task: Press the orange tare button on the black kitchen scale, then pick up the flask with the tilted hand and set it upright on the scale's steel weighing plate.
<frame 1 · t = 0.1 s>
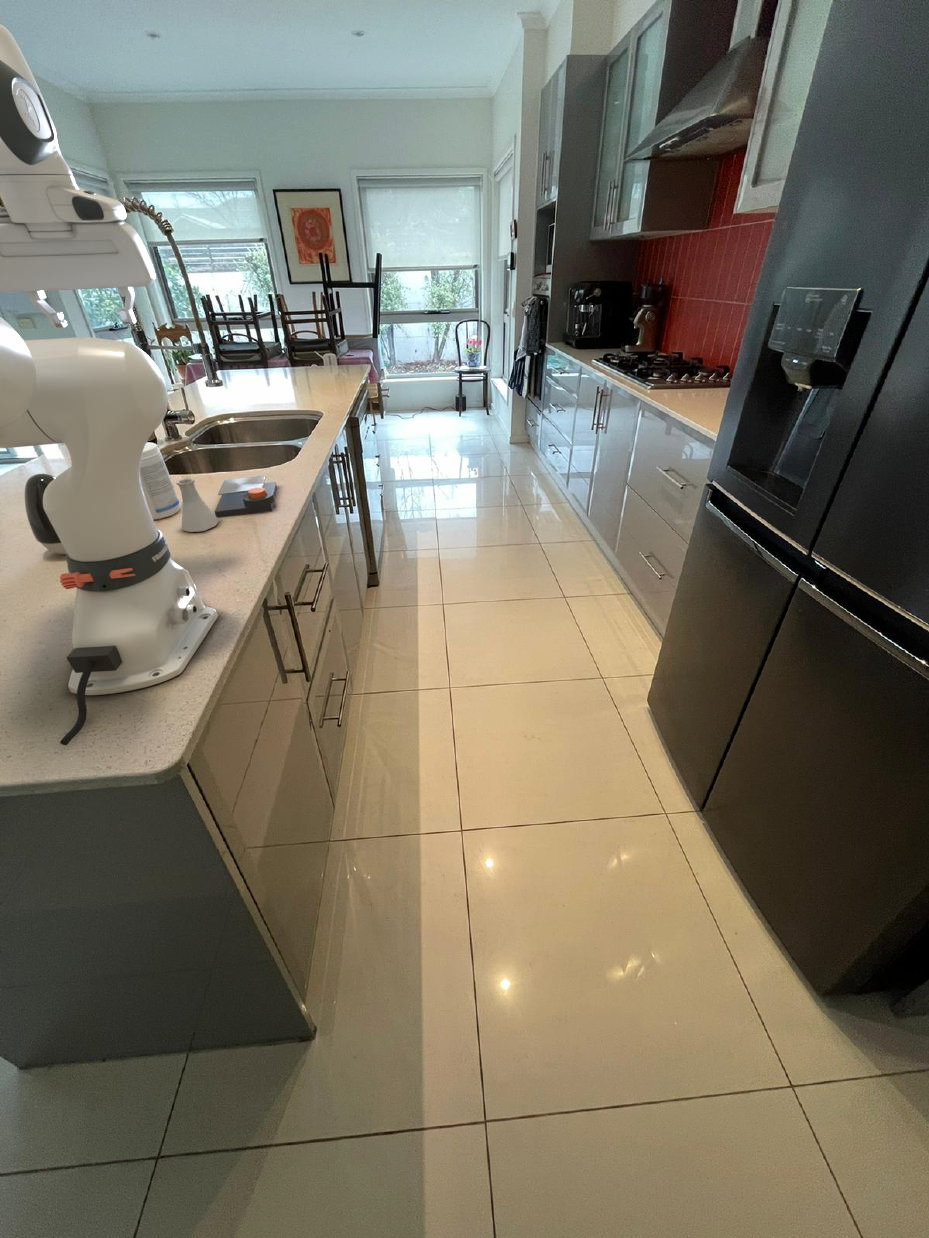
hand: (95, 325, 76), 39 cm above the worktop, tool pointing down, fingers open, 8 cm apart
weighing plate: (242, 486, 122), resting on scale
scale: (248, 501, 122), on the worktop
supplement tub: (159, 513, 118), on the worktop
tare button: (257, 493, 116), point 3 cm above the worktop, slide at 0.1 cm
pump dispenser: (76, 549, 104), on the worktop
flask: (201, 527, 111), on the worktop
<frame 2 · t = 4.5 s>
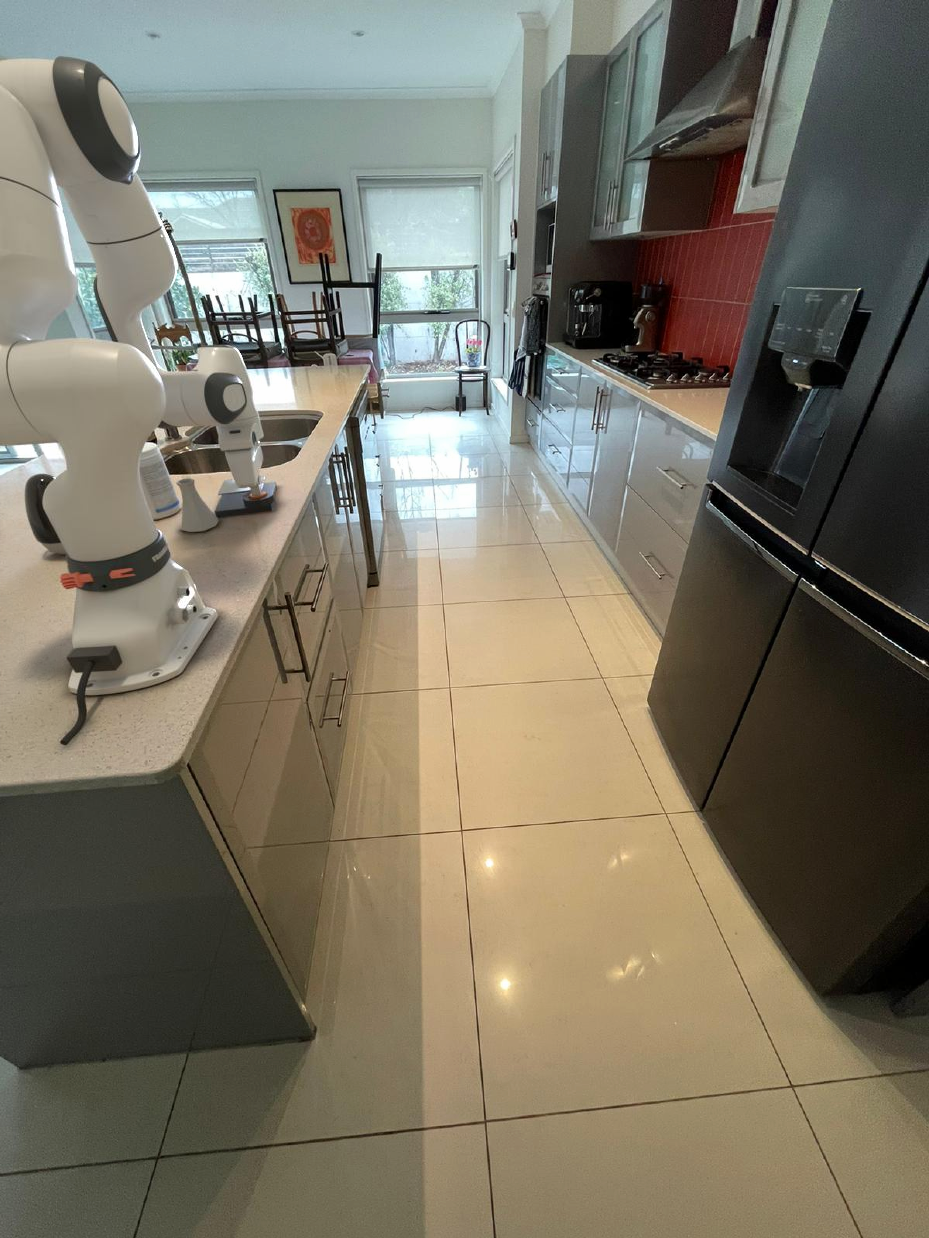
hand: (257, 493, 116), 3 cm above the worktop, tool pointing down, fingers closed, pressing on tare button
tare button: (258, 497, 117), point 3 cm above the worktop, slide at -0.7 cm, touching gripper
everything else where it was.
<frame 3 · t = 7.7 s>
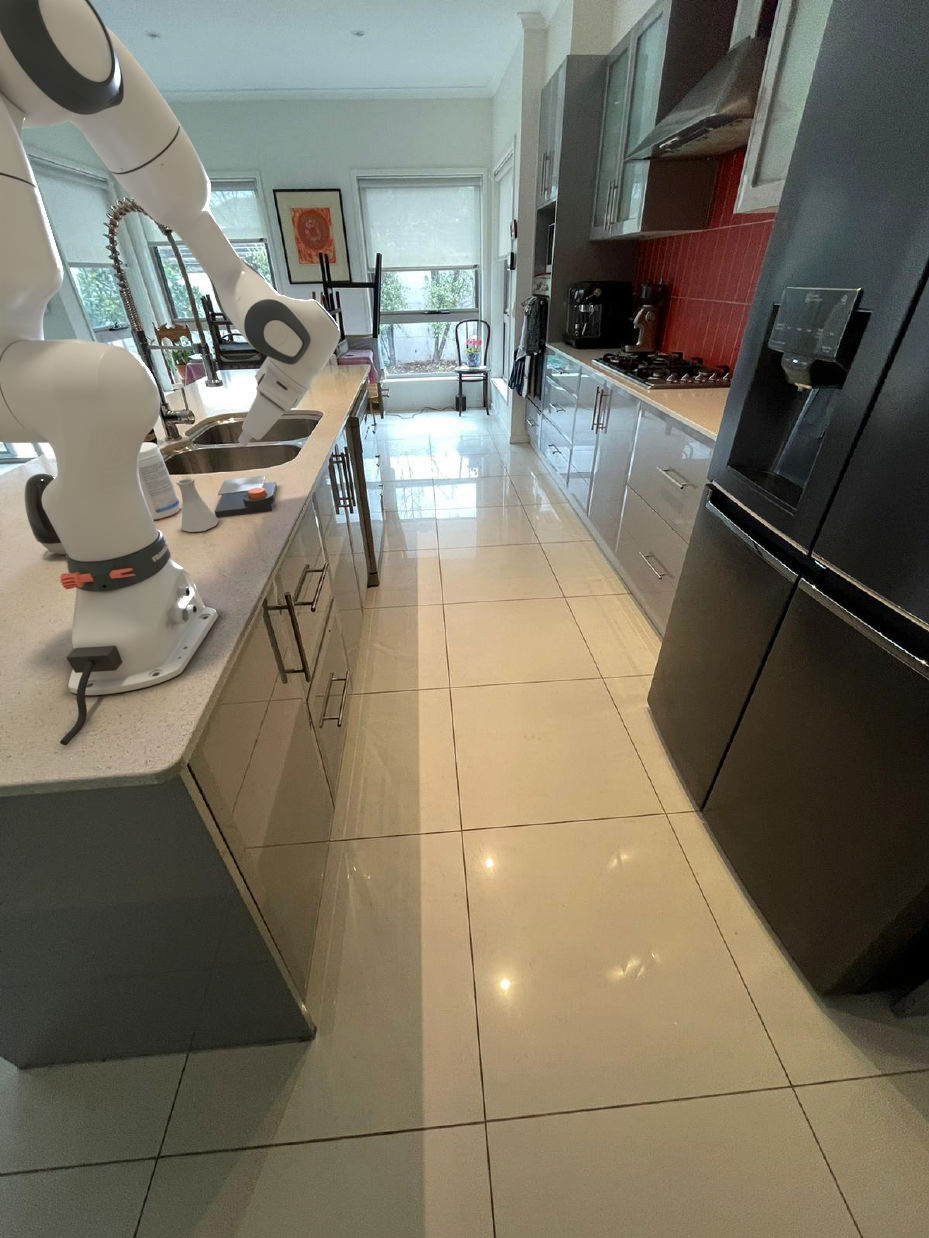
hand: (242, 442, 103), 17 cm above the worktop, tool tilted 45°, fingers closed
tare button: (257, 493, 116), point 3 cm above the worktop, slide at 0.1 cm
everything else where it was.
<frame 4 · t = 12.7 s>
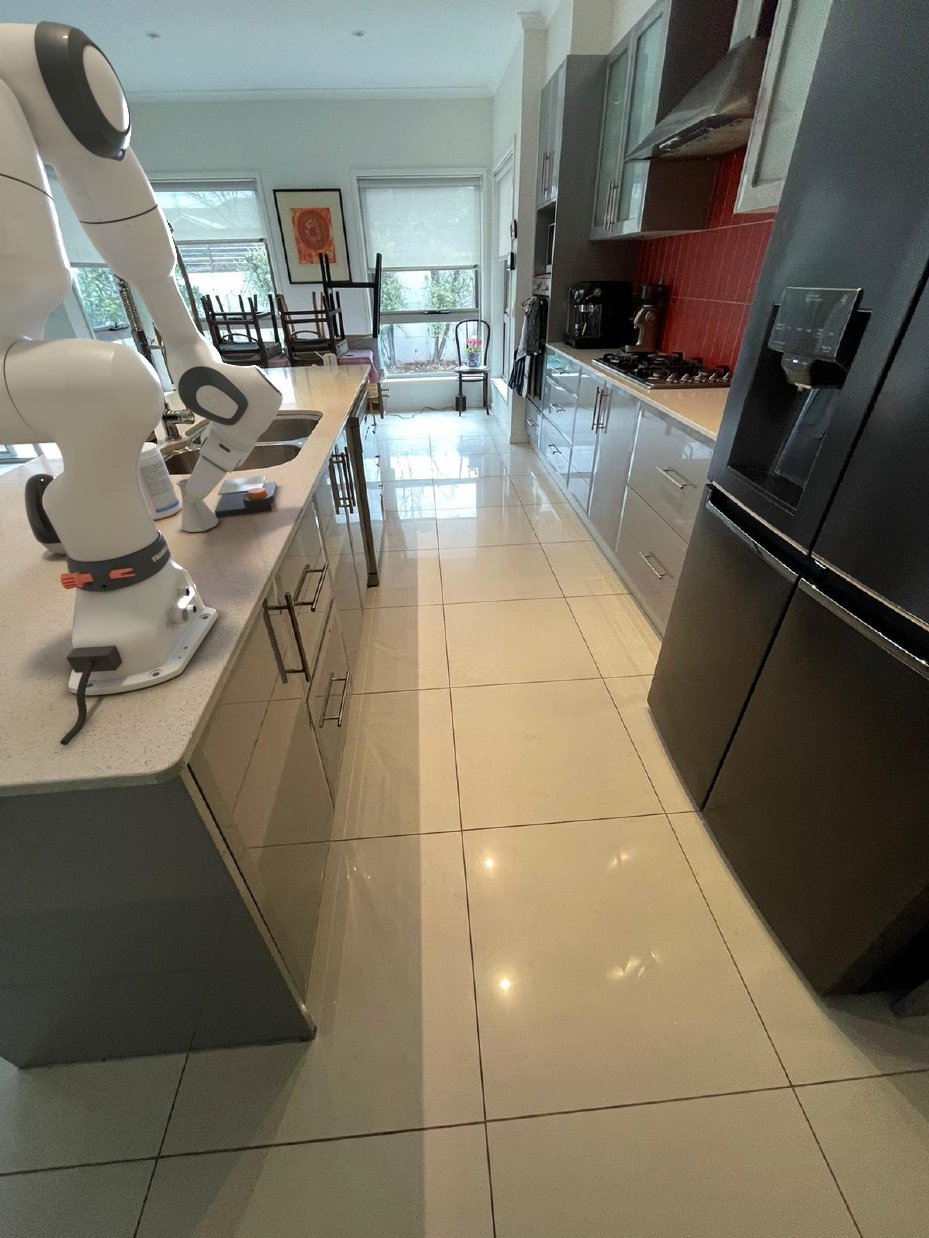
hand: (190, 497, 107), 7 cm above the worktop, tool tilted 45°, fingers closed on flask, 3 cm apart
flask: (201, 527, 111), on the worktop, touching gripper
everything else where it was.
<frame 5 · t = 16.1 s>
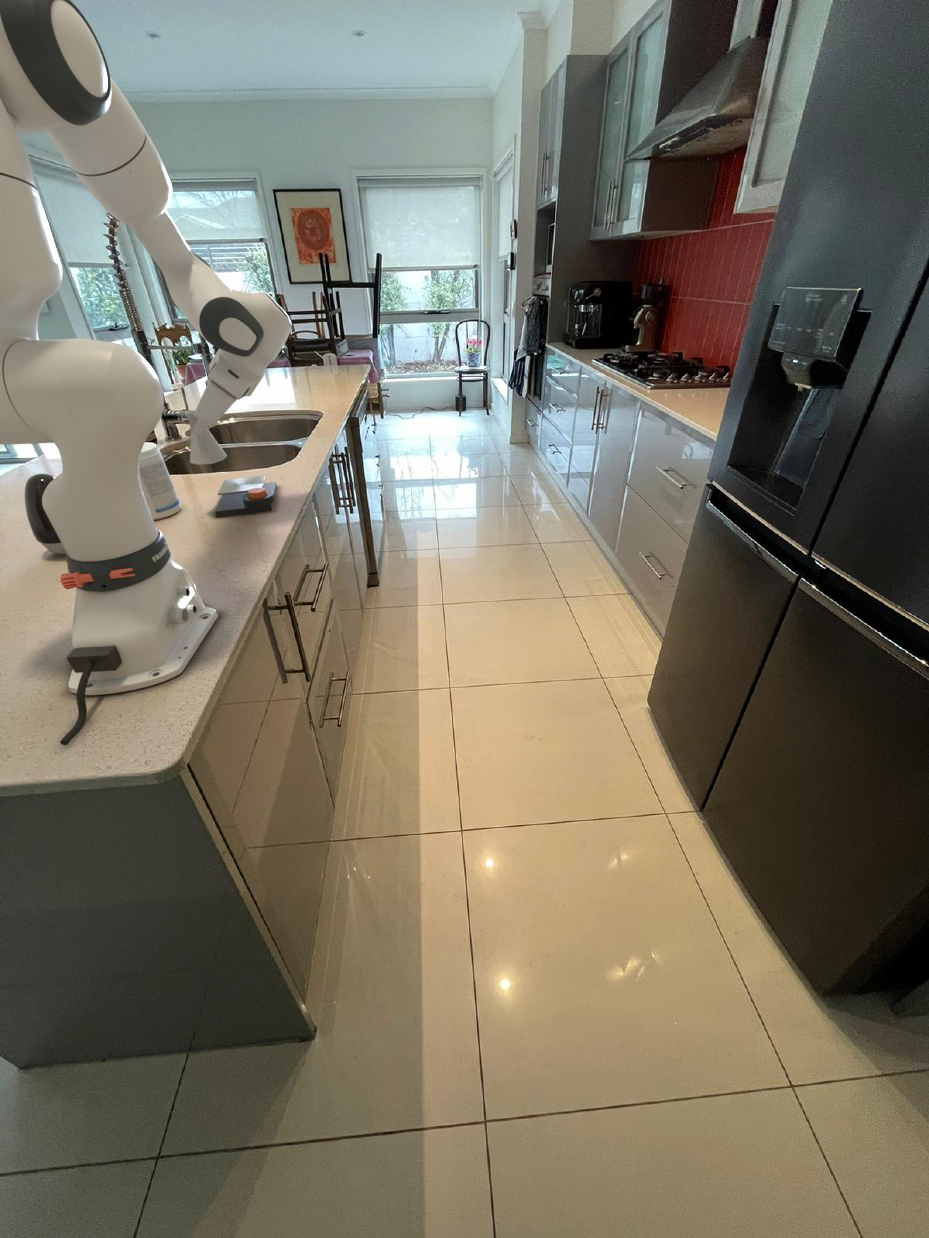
hand: (198, 429, 107), 18 cm above the worktop, tool tilted 45°, fingers closed on flask, 3 cm apart
flask: (209, 461, 111), point 11 cm above the worktop, touching gripper
everything else where it was.
when the fingers open (10 cm above the worktop, at t = 19.9 s): flask stays where it is, resting on weighing plate.
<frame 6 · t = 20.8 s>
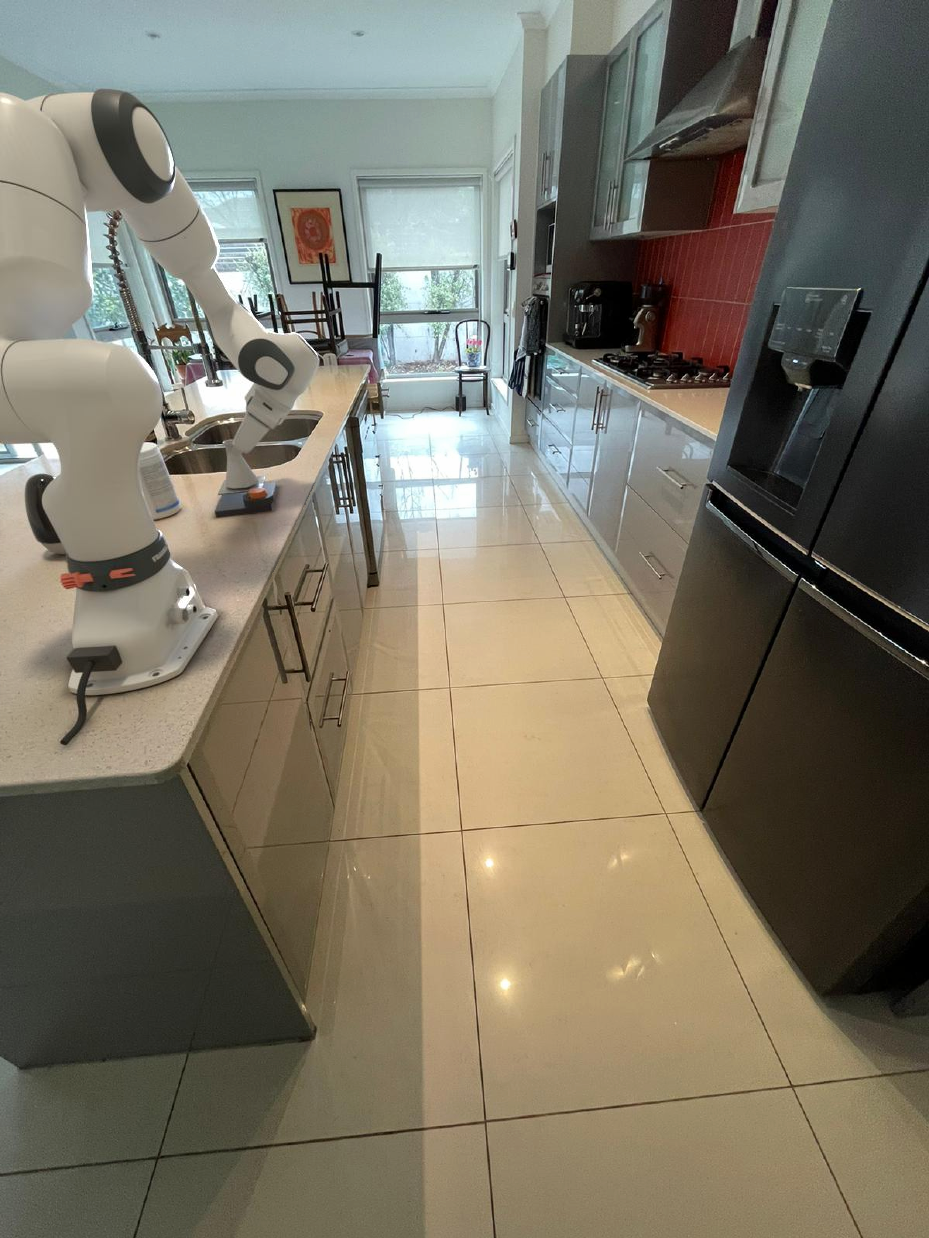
hand: (233, 454, 118), 11 cm above the worktop, tool tilted 45°, fingers open, 8 cm apart
flask: (242, 485, 122), point 3 cm above the worktop, touching weighing plate
everything else where it was.
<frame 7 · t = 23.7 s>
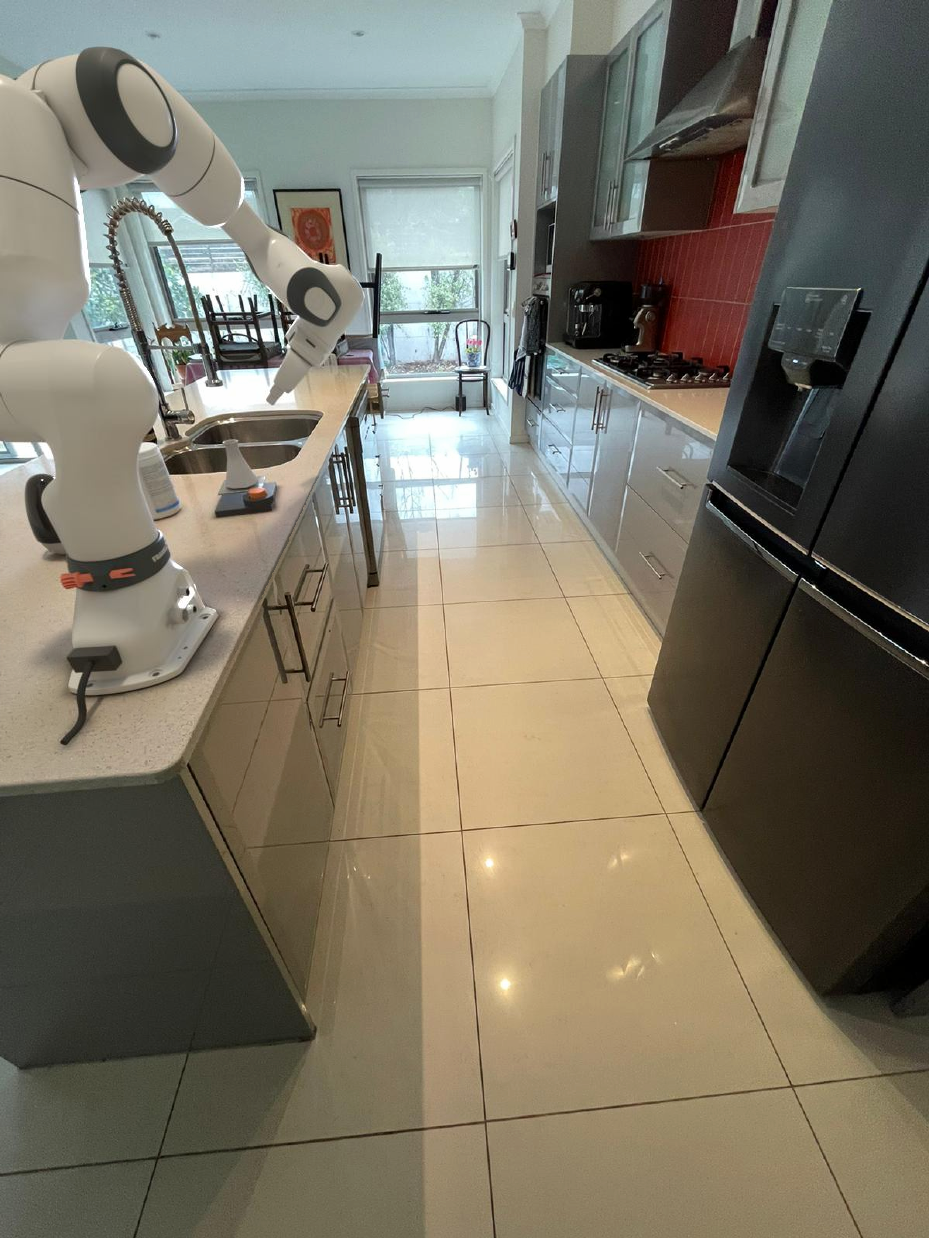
hand: (271, 398, 112), 22 cm above the worktop, tool tilted 45°, fingers open, 8 cm apart
nothing on the worktop moved.
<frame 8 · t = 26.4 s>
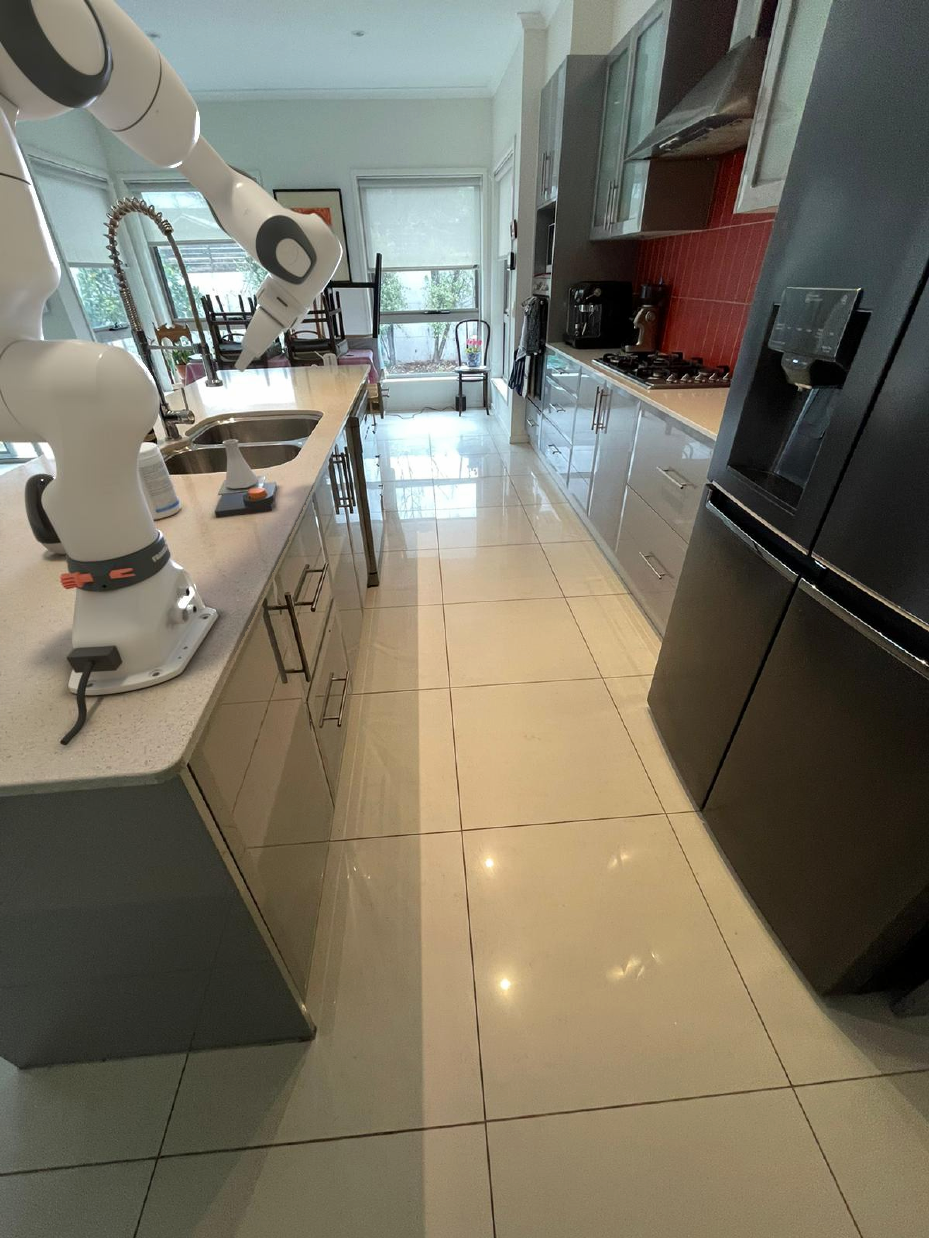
hand: (241, 365, 102), 29 cm above the worktop, tool tilted 45°, fingers open, 8 cm apart
nothing on the worktop moved.
at the end: tare button pushed in 0.9 cm at the most during the clip, back to where it started at the end; flask 0.0 cm from the target spot on the scale, point 3.2 cm above the scale's base; flask tilted 0° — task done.
